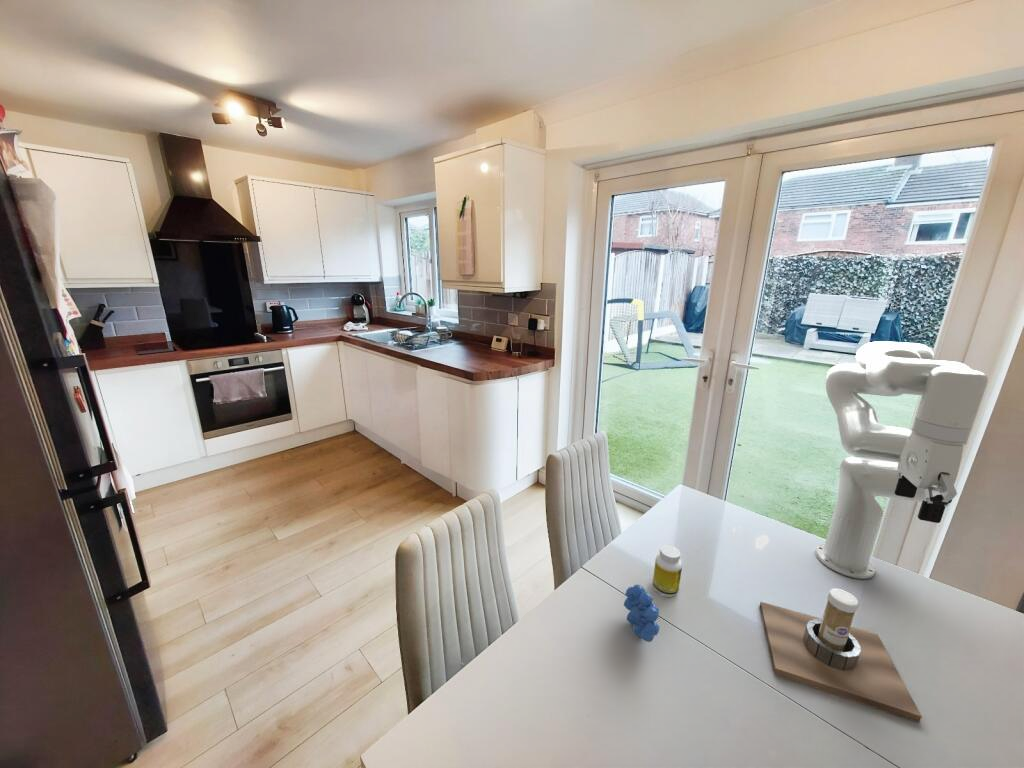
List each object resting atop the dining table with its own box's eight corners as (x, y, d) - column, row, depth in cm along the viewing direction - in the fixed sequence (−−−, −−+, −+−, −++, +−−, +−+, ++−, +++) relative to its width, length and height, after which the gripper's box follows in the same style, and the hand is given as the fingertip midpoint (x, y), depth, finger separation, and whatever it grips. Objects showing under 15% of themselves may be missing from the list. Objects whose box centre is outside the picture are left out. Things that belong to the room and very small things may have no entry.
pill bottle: (680, 600, 96) (686, 561, 93) (654, 595, 97) (659, 557, 94) (675, 581, 102) (681, 544, 99) (650, 577, 103) (655, 541, 100)
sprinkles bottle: (827, 659, 80) (843, 605, 76) (809, 639, 84) (823, 587, 80) (848, 658, 80) (865, 604, 76) (829, 638, 84) (844, 586, 81)
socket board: (759, 606, 94) (760, 601, 94) (876, 639, 86) (877, 634, 85) (774, 673, 78) (775, 668, 78) (919, 722, 70) (921, 716, 69)
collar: (799, 626, 87) (802, 614, 86) (847, 640, 84) (851, 627, 83) (809, 660, 79) (813, 646, 78) (863, 677, 76) (867, 663, 75)
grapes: (671, 654, 82) (678, 608, 79) (641, 660, 81) (647, 613, 77) (642, 609, 93) (647, 567, 90) (616, 614, 92) (620, 571, 88)
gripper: (894, 414, 86) (874, 484, 91) (939, 444, 71) (913, 526, 75) (940, 419, 83) (917, 491, 88) (997, 451, 68) (966, 537, 72)
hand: (915, 507), depth 81 cm, fingers open, 9 cm apart
